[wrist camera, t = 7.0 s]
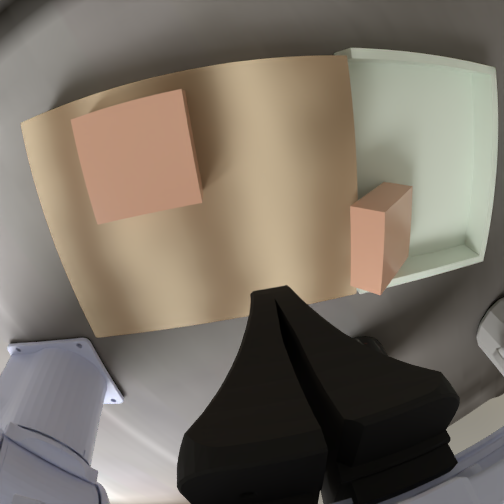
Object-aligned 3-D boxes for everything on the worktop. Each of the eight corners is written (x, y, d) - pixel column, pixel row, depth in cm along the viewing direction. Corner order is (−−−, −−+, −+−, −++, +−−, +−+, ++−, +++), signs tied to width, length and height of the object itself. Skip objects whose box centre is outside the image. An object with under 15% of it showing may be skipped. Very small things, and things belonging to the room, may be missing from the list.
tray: (346, 275, 23) (360, 294, 20) (333, 53, 16) (350, 47, 13) (465, 247, 23) (483, 261, 21) (472, 66, 16) (495, 67, 14)
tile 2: (109, 210, 15) (97, 224, 14) (86, 116, 13) (70, 119, 11) (203, 190, 16) (202, 202, 14) (185, 90, 13) (181, 88, 12)
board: (106, 311, 21) (96, 337, 19) (45, 118, 15) (20, 123, 12) (340, 270, 22) (356, 293, 20) (326, 61, 16) (346, 55, 13)
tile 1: (350, 285, 19) (380, 295, 17) (350, 206, 16) (384, 212, 15) (382, 250, 22) (408, 256, 20) (384, 181, 19) (412, 186, 18)
